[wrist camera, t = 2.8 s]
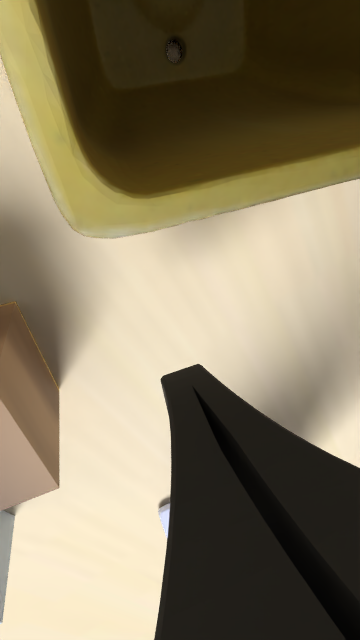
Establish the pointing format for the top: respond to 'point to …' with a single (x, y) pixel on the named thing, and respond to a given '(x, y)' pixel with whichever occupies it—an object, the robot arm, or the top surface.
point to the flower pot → (183, 104)
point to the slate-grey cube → (5, 553)
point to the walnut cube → (25, 414)
